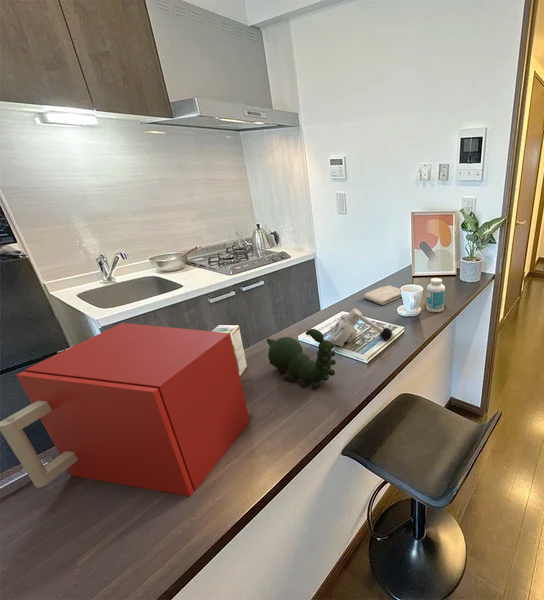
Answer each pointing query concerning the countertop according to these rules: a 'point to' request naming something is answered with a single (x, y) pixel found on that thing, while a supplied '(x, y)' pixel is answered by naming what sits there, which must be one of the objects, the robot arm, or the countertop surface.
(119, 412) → the door
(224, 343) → the red cupboard
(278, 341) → the toy figurine
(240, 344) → the syrup box
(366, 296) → the washcloth
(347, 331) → the mechanical valve
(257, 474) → the countertop surface
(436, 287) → the pill bottle
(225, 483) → the countertop surface
